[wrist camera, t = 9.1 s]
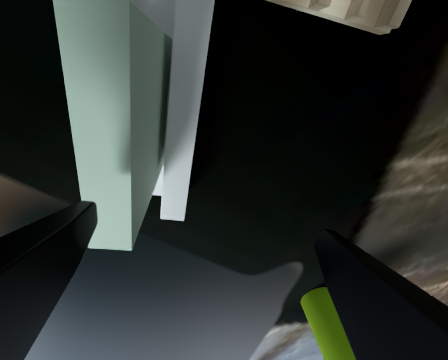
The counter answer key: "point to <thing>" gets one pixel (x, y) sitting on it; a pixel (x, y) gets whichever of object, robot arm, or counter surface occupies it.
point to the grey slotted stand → (180, 92)
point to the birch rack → (355, 12)
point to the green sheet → (115, 109)
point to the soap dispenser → (326, 325)
